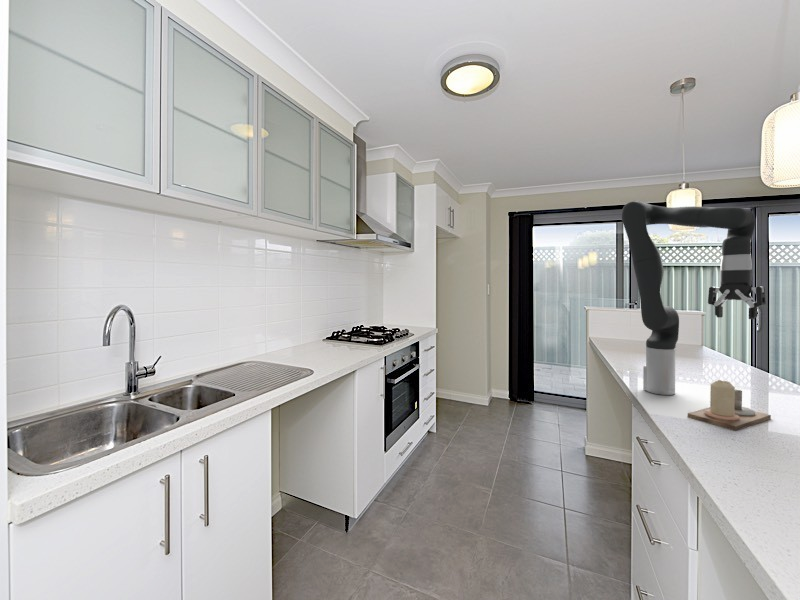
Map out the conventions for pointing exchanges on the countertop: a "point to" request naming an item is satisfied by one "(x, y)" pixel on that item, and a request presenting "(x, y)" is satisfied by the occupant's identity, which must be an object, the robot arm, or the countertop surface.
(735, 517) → the countertop surface
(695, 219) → the robot arm
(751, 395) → the countertop surface
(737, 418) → the pad
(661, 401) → the countertop surface
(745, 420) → the board
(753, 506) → the countertop surface
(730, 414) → the candle
